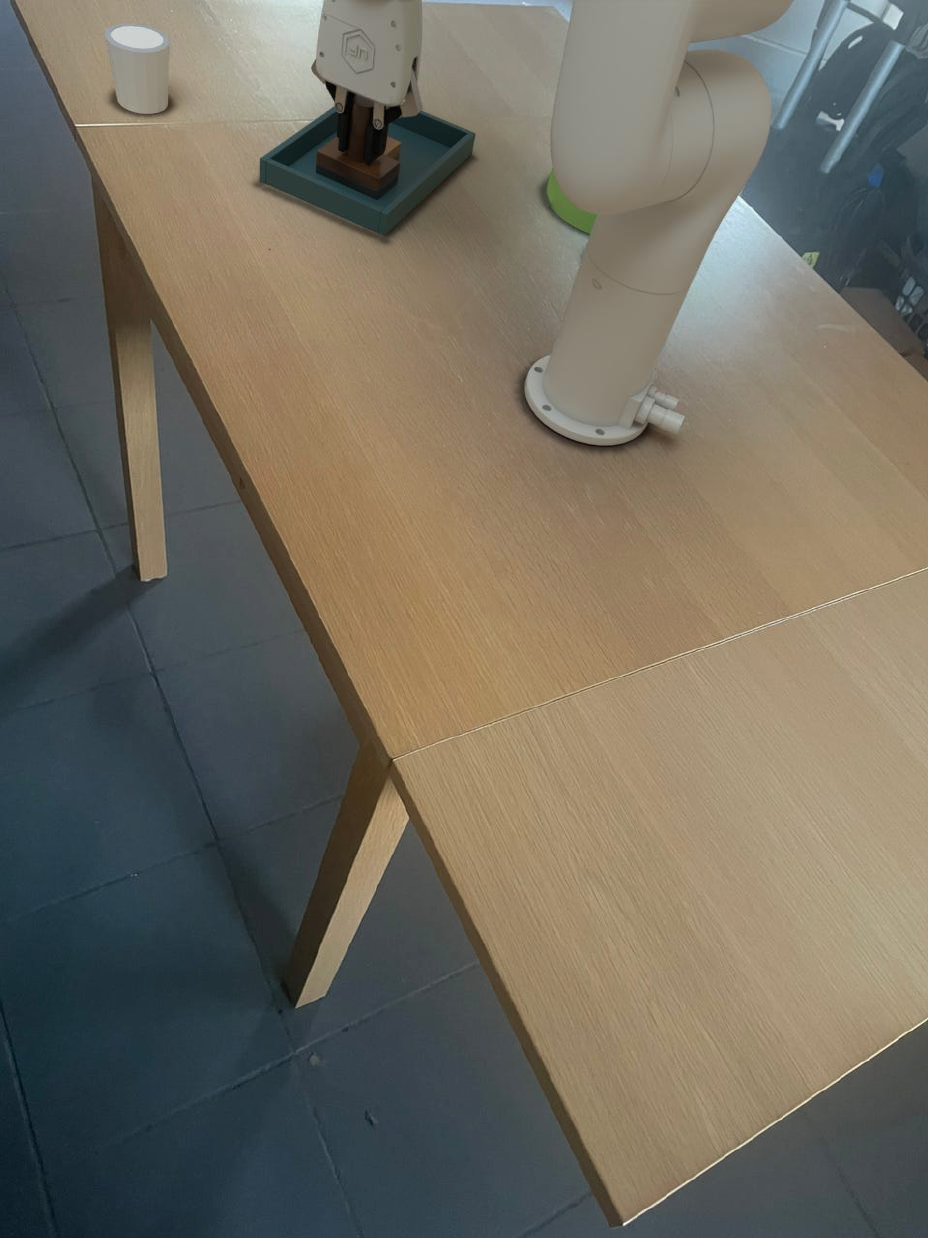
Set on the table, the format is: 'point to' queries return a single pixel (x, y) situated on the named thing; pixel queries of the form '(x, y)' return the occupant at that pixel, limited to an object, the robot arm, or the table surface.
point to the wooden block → (392, 148)
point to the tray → (423, 167)
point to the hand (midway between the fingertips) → (360, 151)
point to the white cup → (139, 66)
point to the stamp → (358, 157)
